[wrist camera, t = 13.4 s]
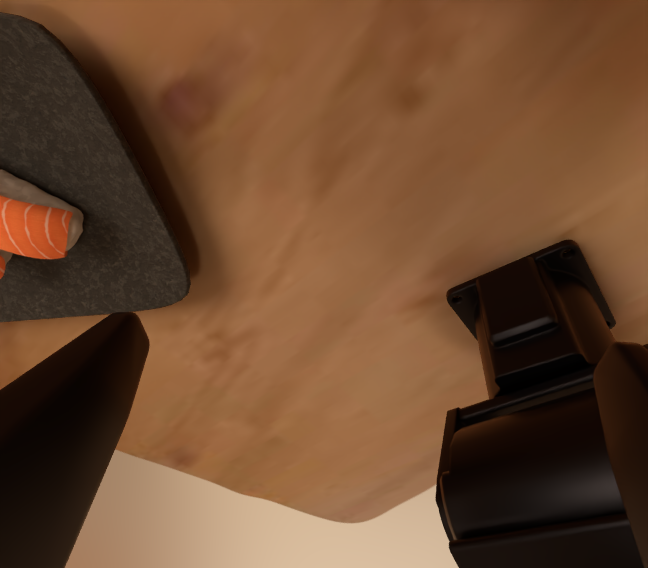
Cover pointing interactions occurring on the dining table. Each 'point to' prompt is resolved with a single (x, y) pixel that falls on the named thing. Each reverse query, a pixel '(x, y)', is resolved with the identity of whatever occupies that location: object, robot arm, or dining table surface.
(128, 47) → the dining table surface
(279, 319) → the dining table surface
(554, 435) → the robot arm
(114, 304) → the sushi plate
